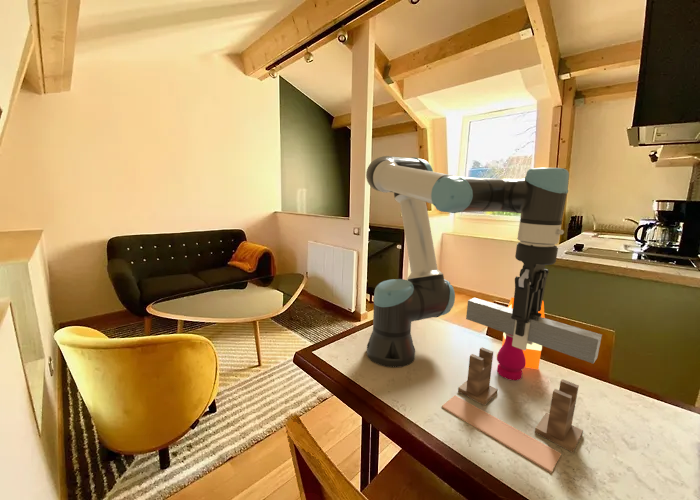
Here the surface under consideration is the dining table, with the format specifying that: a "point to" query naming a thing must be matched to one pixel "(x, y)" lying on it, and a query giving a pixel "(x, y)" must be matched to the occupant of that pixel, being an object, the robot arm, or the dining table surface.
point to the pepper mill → (510, 360)
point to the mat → (504, 433)
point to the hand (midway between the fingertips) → (522, 344)
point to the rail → (538, 330)
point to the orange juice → (532, 350)
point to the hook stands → (552, 424)
